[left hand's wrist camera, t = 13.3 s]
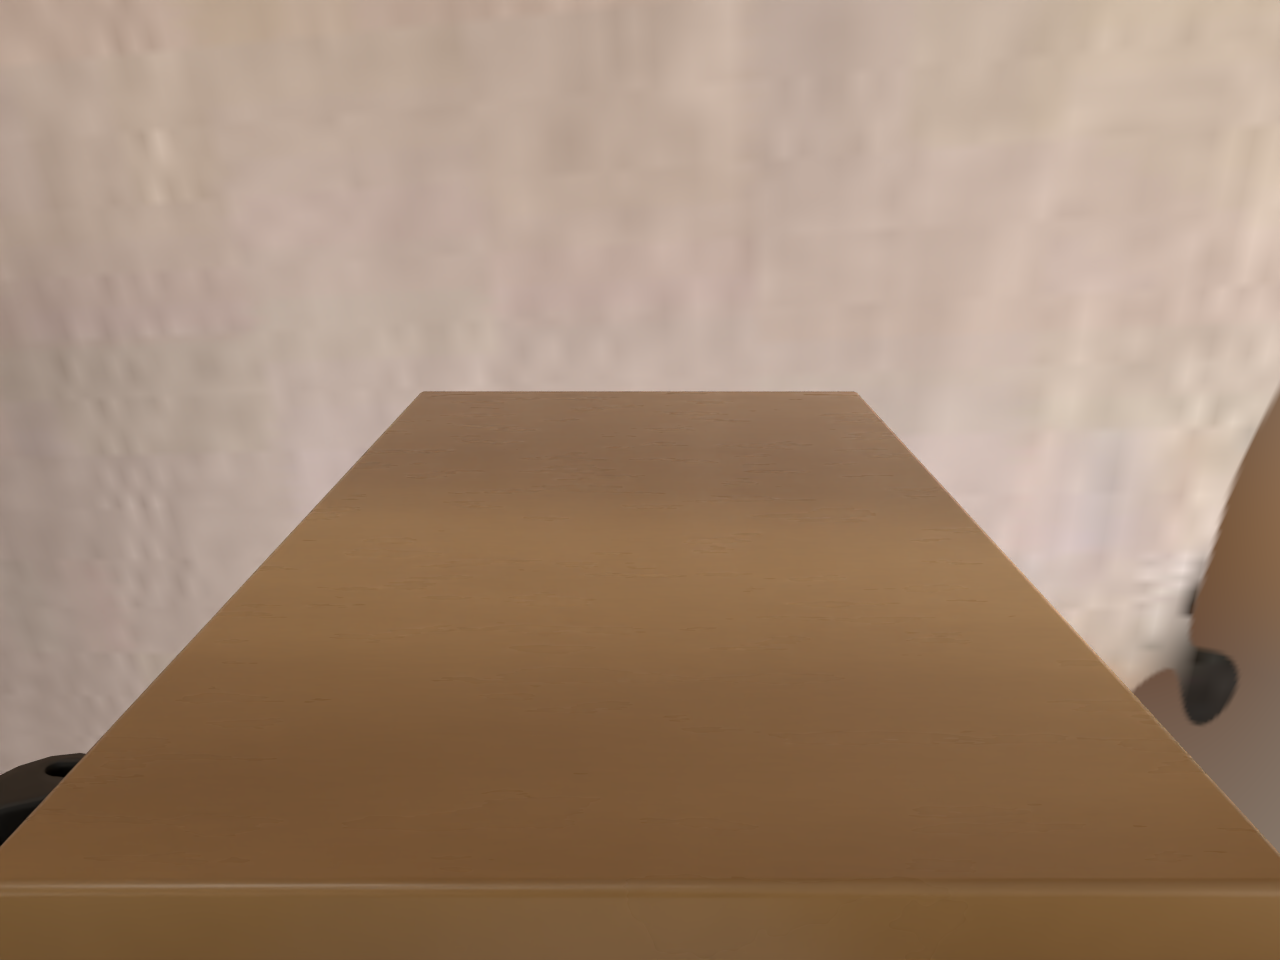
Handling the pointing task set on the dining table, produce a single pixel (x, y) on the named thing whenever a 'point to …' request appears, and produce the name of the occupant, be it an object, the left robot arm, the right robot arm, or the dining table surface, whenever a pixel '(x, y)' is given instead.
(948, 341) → the dining table surface
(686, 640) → the box
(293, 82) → the dining table surface
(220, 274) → the dining table surface
